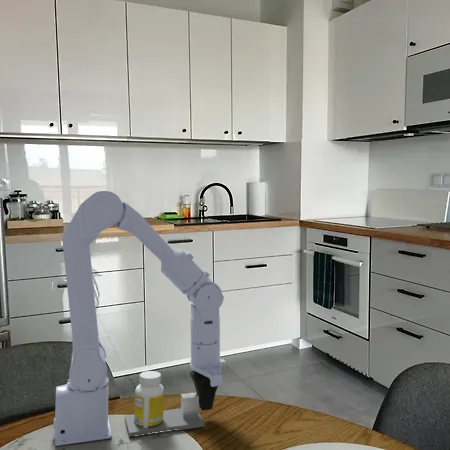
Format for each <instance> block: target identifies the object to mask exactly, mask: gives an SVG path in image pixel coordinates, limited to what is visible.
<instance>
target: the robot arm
mask: <svg viewBox="0 0 450 450" xmlns="http://www.w3.org/2000/svg"><path fill="white" fill-rule="evenodd" d="M114 225H115V227H116V228H117V230H120V231H121V230H122V231H124V232H128V233H130V234H132V235H133V236H134V237H135V238H136V239H138V241H140V242H141V243H142V244H143V245H144V246H145V247H146V248H147V249H148V250H149V251H150V252H151V253H152V254H153V255H154V256H155V257H156V258H157V259H158V260H159V261H160V264H161V265H160V271H161V273H162V274H163V275H164V276H165V277H166V278H167V279H168V280H169V281H170V282H171V283H172V284H173V285H174V286H175V287H176V288H177V289H178V290H179V291H180V293H182V295H186V298H187V299H188V301H189V302H191V303H192V304H190V319H189V321H190V360H189V361H190V362H189V368H190V369H191V371H189V376H190V377H191V380H192V381H193V384H194V387H195V391H196V393H197V395H198V396H199V409H200V410H201V411H202V412H203V411H204V412H205V411H209V410H212V409H213V407H214V402H215V398H216V393H217V390H218V387H220V386H222V385H223V375H222V374H221V373H222V372H221V370H222V366H226V365H227V364H226V363H227V362H226V360H225V359H224V358H221V328H220V327H221V322H220V321H221V320H220V319H221V318H220V308H221V307H222V304H223V303H224V298H225V296H224V295H223V293H222V289H221V287H220V286H219V285H218V284H217V283H215V282H214V281H213V280H211V278H209V277H210V275H211V274H210V273H208V271H206V270H205V271H203V269H201V267H200V266H199V265H198V264H197V263H196V262H195V261H194V260H193V259H194V257H195V256H193V255H192V254H191V253H190V252H189V251H187V253H186V252H185V251H184V250H182V249H175V250H174V249H173V248H171V246H170V245H169V244H168V243H167V242H166V241H165V240H164V238H162V236H161V235H159V233H158V232H157V231H156V230H155V229H154V227H152V225H151V224H150V223H149V222H148V221H147V220H146V219H145V217H143V215H141V214H140V213H139V212H138V211H137V210H136V209H134V208H133V207H132V206H130V205H129V204H128V203H126V202H124V201H122V199H121V198H120V197H119V195H117V193H114V192H113V191H109V190H97V191H95V192H94V193H93V194H91V195H90V196H88V197H87V198H86V199H85V200H84V201H83V202H82V203H81V204H80V205H79V206H78V208H77V210H76V212H75V213H74V215H73V217H72V218H71V220H70V222H69V223H68V226H67V227H66V229H65V230H64V232H63V233H62V239H61V240H62V248H63V249H62V250H63V251H62V252H63V257H64V258H63V259H64V268H65V277H66V278H65V279H66V287H67V288H66V289H67V297H68V306H69V318H70V326H71V335H72V338H71V339H72V342H71V343H72V352H71V364H70V368H69V372H68V374H69V375H68V376H69V378H68V379H67V383H66V384H63V385H59V386H58V385H57V386H55V406H54V407H55V409H54V413H55V416H54V417H53V422H52V423H53V427H52V428H53V430H54V431H55V432H54V446H58V447H59V446H65V445H71V444H79V443H87V442H93V441H99V440H100V441H101V440H108V439H111V438H112V437H113V434H112V430H111V429H112V427H111V424H110V419H109V380H110V379H109V377H108V376H107V375H108V367H107V364H106V357H107V353H106V349H105V347H104V346H103V345H102V343H101V342H100V338H99V336H100V335H99V328H98V327H99V326H98V319H97V309H96V300H95V299H96V298H95V289H94V287H95V286H94V277H93V268H92V259H91V258H92V257H91V248H90V246H91V244H92V243H93V242H94V241H95V240H96V239H97V238H98V237H99V235H101V233H103V231H105V230H107V229H109V228H111V227H112V226H114Z"/></svg>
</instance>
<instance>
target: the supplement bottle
mask: <svg viewBox="0 0 450 450" xmlns="http://www.w3.org/2000/svg"><path fill="white" fill-rule="evenodd" d="M161 381H162V374H161V372H158V371H157V370H156V371H155V370H146V371H142V372H141V373H140V374H139V384H138V385H137V386H136V388H135V391H134V392H135V394H134V413H133V414H134V423H135V425H137V426H139V427H142V428H152V427H156V426H158V425H160V424H161V423H162V422H163V411H164V399H165V388H164V386H163V384H161Z"/></svg>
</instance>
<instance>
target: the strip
mask: <svg viewBox="0 0 450 450" xmlns="http://www.w3.org/2000/svg"><path fill="white" fill-rule="evenodd" d="M199 409H200V406H199V396H198V395H197V392H188V393H181V394H180V408H173V409H165V410H164V409H163V422H162V423H161V424H160V425H158V426H156V427H152V428H142V427H139V426H137V425H135V423H134V413H133V414H125V415H124V422H126V423H125V426H126V425H127V427H126V430H127V429H128V430H127V434H128V433H129V434H128V438H131V437H130V436H134V437H136V436H135V435H141V436H143V435H142V434H148V433H152V432H153V433H154V432H160V431H167V430H175V429H180V430H179V431H181V430H189V429H191V430H192V429H197V428H202V427H203V428H205V421H204V419H203V418H202V416H201V414H200V413H199ZM148 435H149V434H148Z"/></svg>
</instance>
